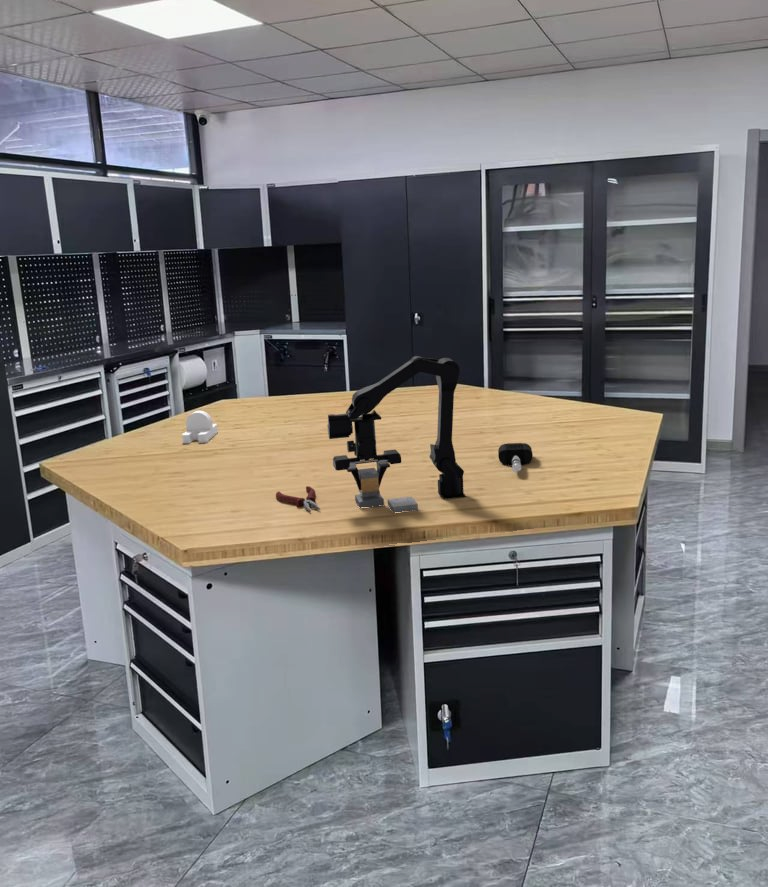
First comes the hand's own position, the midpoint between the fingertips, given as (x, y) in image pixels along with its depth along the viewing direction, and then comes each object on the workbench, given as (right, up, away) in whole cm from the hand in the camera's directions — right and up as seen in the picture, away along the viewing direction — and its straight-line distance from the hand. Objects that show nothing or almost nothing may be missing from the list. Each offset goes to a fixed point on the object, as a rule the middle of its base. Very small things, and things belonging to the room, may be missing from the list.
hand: (368, 488), depth 235 cm
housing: (0, -1, 0) cm, 1 cm away
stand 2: (+10, -5, -4) cm, 12 cm away
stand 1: (0, -4, +1) cm, 4 cm away
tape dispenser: (-69, +15, +94) cm, 117 cm away
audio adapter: (+46, +5, +29) cm, 55 cm away
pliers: (-21, -5, +6) cm, 22 cm away
